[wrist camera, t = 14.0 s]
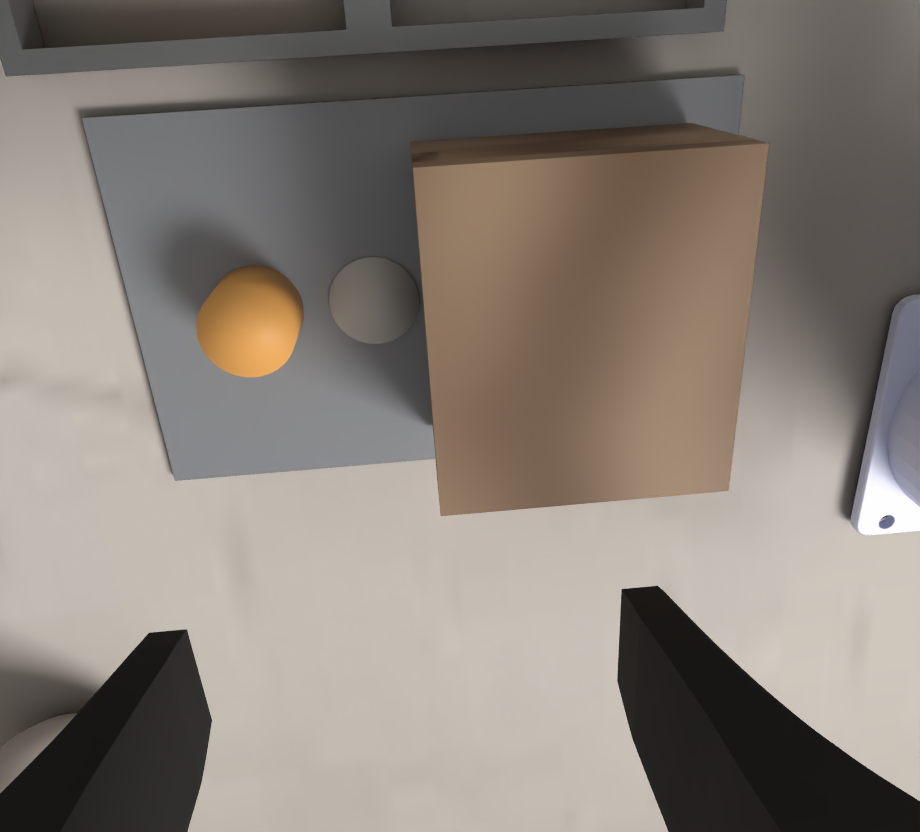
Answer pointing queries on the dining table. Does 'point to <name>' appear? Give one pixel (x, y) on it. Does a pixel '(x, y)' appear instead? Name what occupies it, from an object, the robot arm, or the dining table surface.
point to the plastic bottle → (28, 747)
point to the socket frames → (336, 37)
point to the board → (311, 260)
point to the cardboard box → (586, 311)
